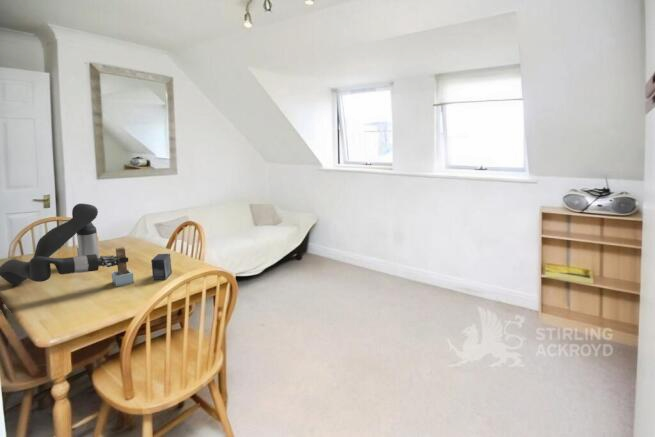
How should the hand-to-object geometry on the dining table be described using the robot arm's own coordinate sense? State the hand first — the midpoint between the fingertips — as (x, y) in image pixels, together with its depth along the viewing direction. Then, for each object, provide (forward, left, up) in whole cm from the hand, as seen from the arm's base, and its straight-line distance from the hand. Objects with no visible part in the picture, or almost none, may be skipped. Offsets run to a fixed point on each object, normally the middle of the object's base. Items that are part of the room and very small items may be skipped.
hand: (126, 258), depth 191 cm
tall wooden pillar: (-1, -2, -10) cm, 10 cm away
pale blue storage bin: (-2, -2, -11) cm, 12 cm away
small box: (+11, +10, -12) cm, 19 cm away
